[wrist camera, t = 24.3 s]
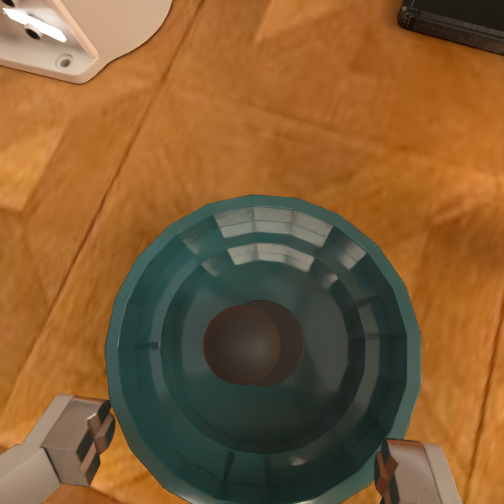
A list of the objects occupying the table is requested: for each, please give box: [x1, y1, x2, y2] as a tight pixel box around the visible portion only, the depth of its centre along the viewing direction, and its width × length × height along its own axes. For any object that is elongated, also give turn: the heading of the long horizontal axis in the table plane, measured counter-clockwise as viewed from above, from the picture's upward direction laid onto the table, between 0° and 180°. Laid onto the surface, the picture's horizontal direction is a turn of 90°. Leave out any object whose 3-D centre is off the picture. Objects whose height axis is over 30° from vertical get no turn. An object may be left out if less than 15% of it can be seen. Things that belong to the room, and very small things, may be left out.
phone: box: [398, 0, 504, 55], centre depth 30 cm, size 8×1×15 cm
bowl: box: [105, 194, 421, 504], centre depth 23 cm, size 18×18×6 cm
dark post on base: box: [203, 300, 304, 387], centre depth 16 cm, size 5×5×18 cm
